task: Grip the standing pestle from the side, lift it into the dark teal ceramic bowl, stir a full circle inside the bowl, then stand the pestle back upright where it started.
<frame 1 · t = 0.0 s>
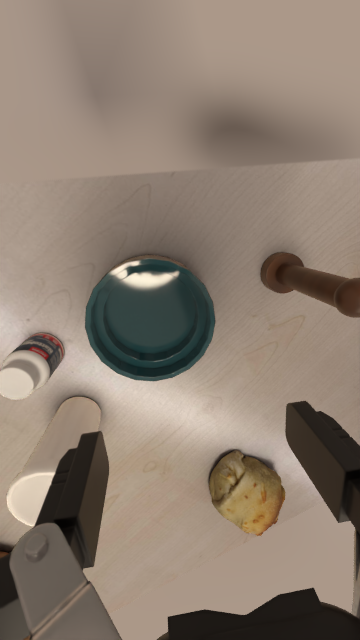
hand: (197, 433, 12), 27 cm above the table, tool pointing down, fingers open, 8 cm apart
pestle: (278, 271, 38), on the table
pill bottle: (45, 349, 38), on the table
bowl: (151, 311, 38), on the table
cup: (80, 411, 42), on the table
pastry: (241, 477, 49), on the table
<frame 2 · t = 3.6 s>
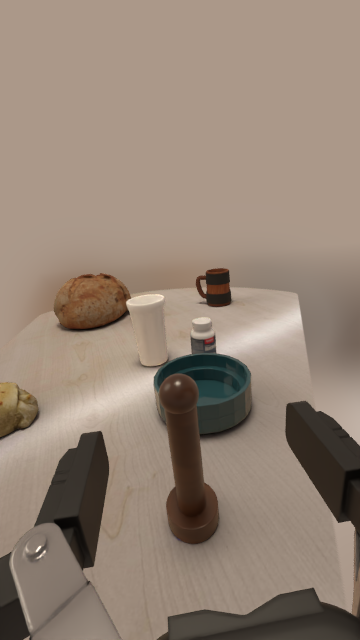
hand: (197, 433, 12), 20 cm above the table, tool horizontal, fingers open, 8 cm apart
pestle: (193, 516, 28), on the table
pill bottle: (204, 359, 60), on the table
bowl: (203, 403, 45), on the table
mug: (214, 303, 98), on the table
bread: (96, 318, 96), on the table
cup: (154, 361, 61), on the table
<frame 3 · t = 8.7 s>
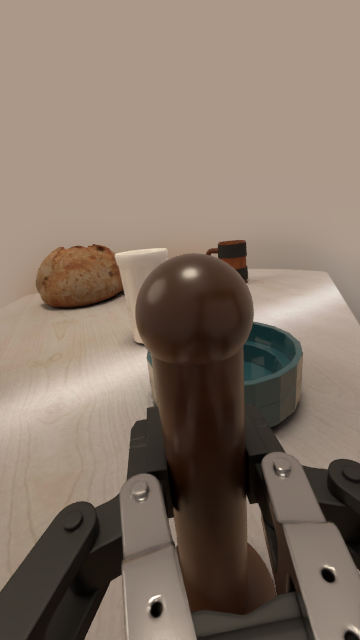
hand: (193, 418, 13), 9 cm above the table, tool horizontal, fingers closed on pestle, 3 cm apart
pestle: (218, 615, 13), on the table, touching gripper
bowl: (223, 390, 30), on the table
mug: (227, 283, 82), on the table
bread: (87, 297, 81), on the table
cup: (153, 339, 46), on the table
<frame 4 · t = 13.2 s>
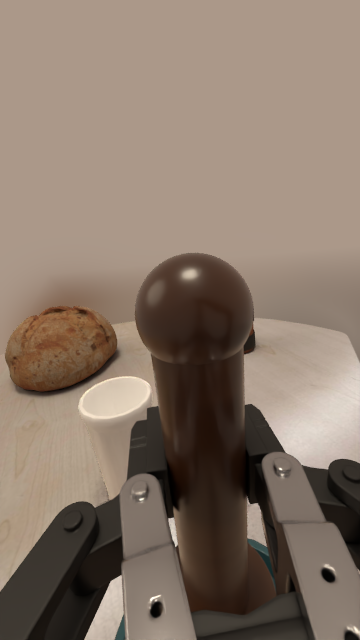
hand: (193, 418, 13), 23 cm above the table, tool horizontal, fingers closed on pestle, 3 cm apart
pestle: (218, 615, 13), point 14 cm above the table, touching gripper
mug: (231, 347, 71), on the table
bread: (69, 366, 70), on the table
cup: (135, 491, 35), on the table
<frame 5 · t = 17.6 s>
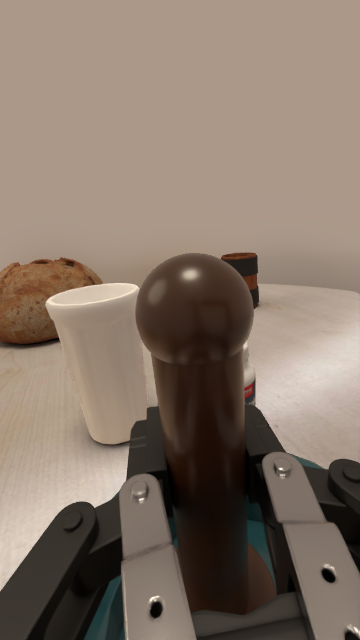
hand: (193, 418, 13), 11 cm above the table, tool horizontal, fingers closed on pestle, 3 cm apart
pestle: (218, 615, 13), point 2 cm above the table, touching gripper
pill bottle: (228, 426, 27), on the table
mug: (232, 306, 65), on the table
bread: (55, 325, 64), on the table
cup: (120, 426, 29), on the table
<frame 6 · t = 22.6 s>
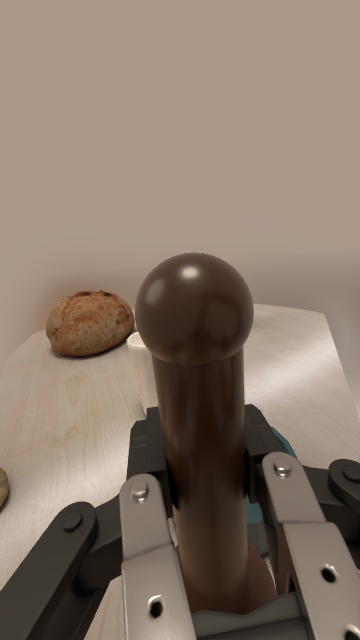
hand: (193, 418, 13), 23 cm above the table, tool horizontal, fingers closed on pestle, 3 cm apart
pestle: (218, 615, 13), point 14 cm above the table, touching gripper
bowl: (229, 491, 33), on the table
bread: (95, 340, 85), on the table
cup: (161, 410, 50), on the table
when the fingers open (9 cm above the table, at t = 26.5 s): pestle stays where it is, on the table.
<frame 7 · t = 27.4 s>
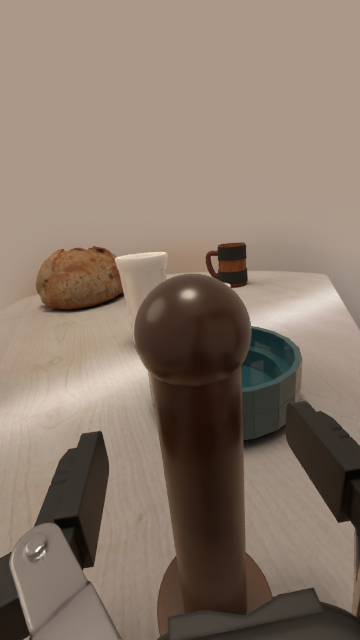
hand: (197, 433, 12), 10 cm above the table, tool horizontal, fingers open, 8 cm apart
pestle: (216, 626, 13), on the table
bowl: (223, 395, 30), on the table
mug: (227, 285, 82), on the table
bread: (87, 299, 81), on the table
cup: (152, 342, 46), on the table
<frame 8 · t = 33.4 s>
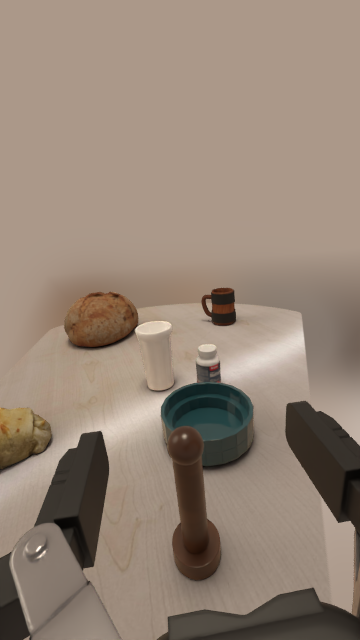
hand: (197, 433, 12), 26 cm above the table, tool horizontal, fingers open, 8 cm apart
pestle: (197, 551, 31), on the table
pill bottle: (209, 384, 62), on the table
bowl: (208, 433, 48), on the table
mug: (219, 322, 100), on the table
bread: (104, 334, 99), on the table
cup: (161, 385, 64), on the table
pastry: (11, 449, 49), on the table
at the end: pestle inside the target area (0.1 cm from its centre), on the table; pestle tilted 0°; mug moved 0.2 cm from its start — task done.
